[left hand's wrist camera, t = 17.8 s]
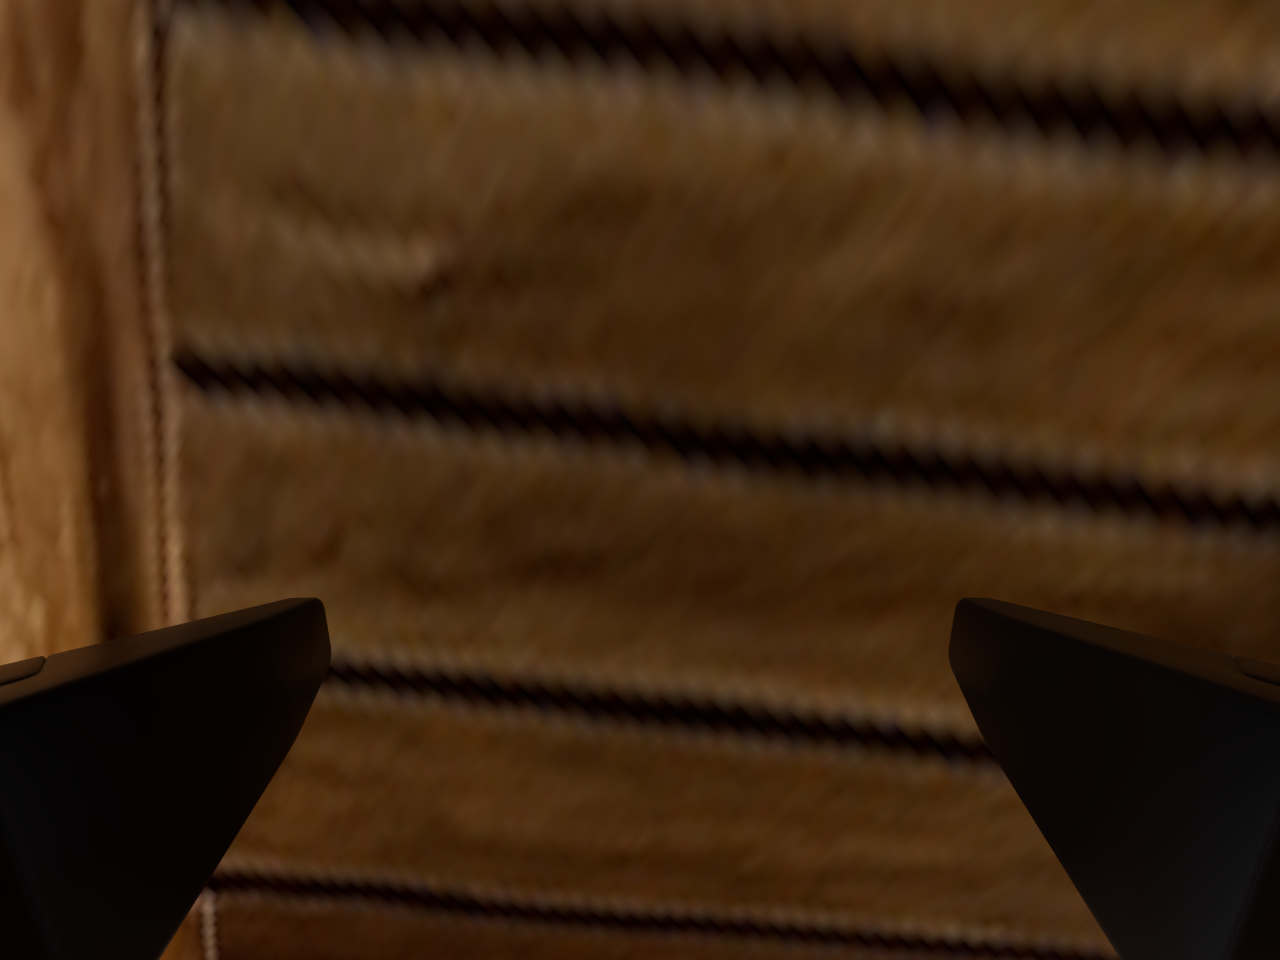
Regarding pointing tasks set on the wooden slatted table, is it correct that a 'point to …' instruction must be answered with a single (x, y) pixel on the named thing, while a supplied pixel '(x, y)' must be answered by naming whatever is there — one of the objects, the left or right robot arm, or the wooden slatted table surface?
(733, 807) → the wooden slatted table surface
